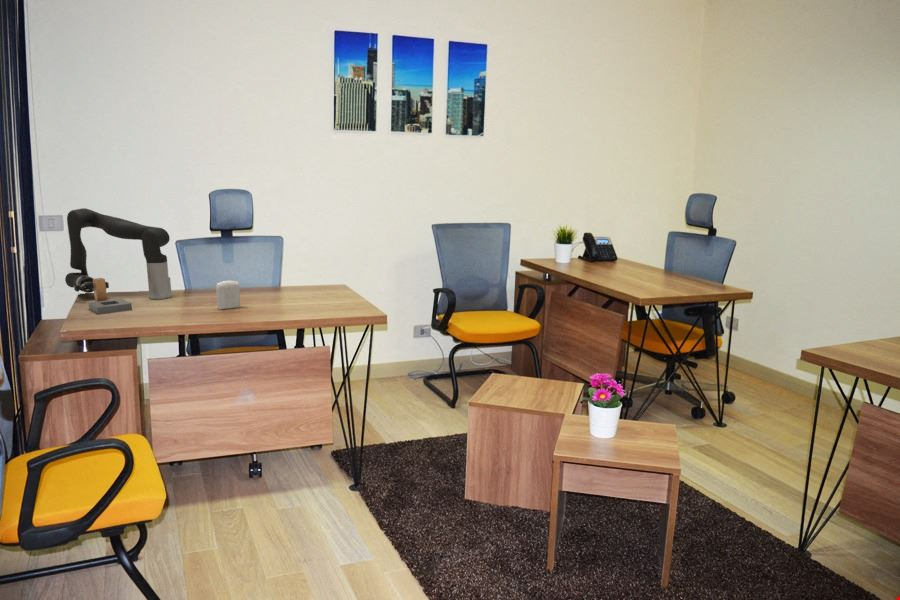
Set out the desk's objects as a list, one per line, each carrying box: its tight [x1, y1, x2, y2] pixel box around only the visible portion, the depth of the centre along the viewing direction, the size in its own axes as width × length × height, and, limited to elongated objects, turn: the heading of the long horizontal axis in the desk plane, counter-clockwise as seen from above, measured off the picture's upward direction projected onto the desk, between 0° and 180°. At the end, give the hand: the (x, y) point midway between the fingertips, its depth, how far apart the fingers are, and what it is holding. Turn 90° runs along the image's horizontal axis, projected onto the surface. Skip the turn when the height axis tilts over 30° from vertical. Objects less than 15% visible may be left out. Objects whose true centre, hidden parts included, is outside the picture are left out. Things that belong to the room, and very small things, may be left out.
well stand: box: [87, 298, 133, 315], centre depth 319 cm, size 14×14×3 cm
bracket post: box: [93, 277, 108, 302], centre depth 329 cm, size 4×4×12 cm
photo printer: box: [215, 280, 241, 310], centre depth 320 cm, size 10×4×12 cm, turn 123°
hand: (95, 288), depth 334 cm, fingers open, 8 cm apart
